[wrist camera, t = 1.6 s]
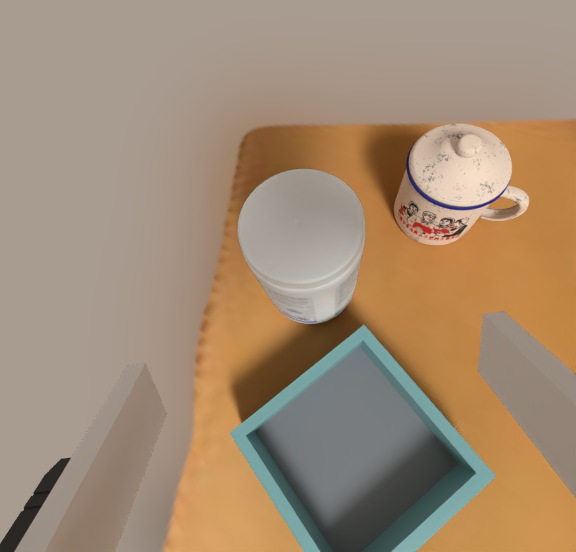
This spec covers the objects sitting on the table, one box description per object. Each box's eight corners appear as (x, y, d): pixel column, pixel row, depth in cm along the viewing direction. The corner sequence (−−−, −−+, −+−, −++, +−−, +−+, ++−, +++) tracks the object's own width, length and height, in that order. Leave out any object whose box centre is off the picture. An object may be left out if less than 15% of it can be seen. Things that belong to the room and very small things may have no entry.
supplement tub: (330, 231, 40) (332, 145, 27) (370, 302, 37) (396, 246, 23) (254, 266, 40) (216, 197, 26) (288, 341, 37) (265, 308, 23)
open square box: (470, 464, 31) (496, 476, 27) (342, 582, 30) (345, 617, 25) (359, 334, 36) (364, 324, 31) (243, 428, 34) (229, 433, 30)
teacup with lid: (380, 232, 40) (399, 170, 29) (405, 169, 42) (432, 89, 31) (489, 269, 37) (557, 215, 26) (509, 199, 39) (580, 123, 28)
